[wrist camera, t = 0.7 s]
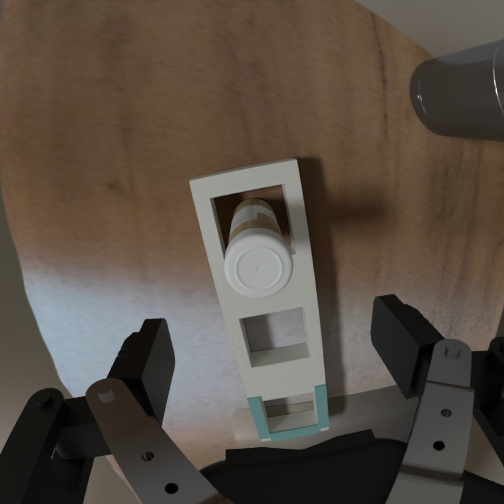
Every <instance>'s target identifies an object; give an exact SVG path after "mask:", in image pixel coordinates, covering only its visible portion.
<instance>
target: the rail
mask: <svg viewBox="0 0 504 504" xmlns="http://www.w3.org/2000/svg"><path fill="white" fill-rule="evenodd" d="M189 182H190V186H191V191H192V195H193V199H194V203H195V208H196V212H197V216H198V220H199V224H200V228H201V232H202V236H203V240H204V244H205V248H206V252H207V256H208V260H209V264H210V268H211V271H212V275H213V279H214V283H215V287H216V290H217V294H218V298H219V301H220V305H221V309H222V312H223V316H224V320H225V323H226V327H227V330H228V334H229V337H230V341H231V344H232V348H233V351H234V355H235V358H236V362H237V365H238V368H239V372H240V375H241V378H242V382H243V385H244V388H245V392H246V395H247V400H248V403H249V406H250V409H251V413H252V416H253V419H254V422H255V425H256V428H257V431H258V435H259V438H260V439H261V441H268V440H271V442H272V441H279V440H285V439H291V438H296V437H302V436H307V435H312V434H317V433H319V431H324V430H328V429H329V419H328V404H327V390H326V382H325V370H324V359H323V348H322V338H321V328H320V319H319V310H318V301H317V293H316V284H315V276H314V269H313V261H312V254H311V246H310V239H309V232H308V226H307V219H306V212H305V206H304V200H303V194H302V187H301V181H300V175H299V170H298V164H297V159H294V158H288V159H282V160H276V161H271V162H265V163H260V164H254V165H249V166H244V167H239V168H234V169H229V170H225V171H220V172H215V173H211V174H206V175H202V176H197V177H194V178H192V179H191V180H190V181H189ZM279 184H282V189H283V194H284V200H285V206H286V211H287V217H288V223H289V229H290V235H291V241H292V244H291V245H288V247H289V249H290V252H291V255H292V258H293V273H292V276H291V279H290V281H289V283H288V284H287V285H286V286H285V287H284V289H282V290H281V291H280V292H279V293H277V294H275V295H273V296H271V297H268V298H262V299H255V298H249V297H246V296H243V295H241V294H240V293H238V292H237V291H235V290H234V289H233V288H232V287H231V285H230V284H229V282H228V281H227V279H226V276H225V271H224V260H225V254H226V249H225V245H224V240H223V236H222V232H221V227H220V223H219V219H218V214H217V210H216V205H215V201H214V197H218V196H223V195H228V194H233V193H238V192H243V191H248V190H253V189H258V188H263V187H268V186H274V185H279ZM299 307H302V314H303V321H304V328H305V335H306V343H301V344H296V345H291V346H285V347H280V348H275V349H269V350H263V351H258V352H252V353H251V351H250V347H249V343H248V339H247V335H246V331H245V327H244V323H243V319H242V318H246V317H252V316H257V315H263V314H268V313H273V312H279V311H284V310H289V309H294V308H299ZM310 392H313V400H314V409H313V410H308V411H303V412H298V413H293V414H287V415H281V416H275V417H269V418H268V416H267V412H266V409H265V405H264V401H266V400H272V399H278V398H284V397H289V396H295V395H300V394H305V393H310Z"/></svg>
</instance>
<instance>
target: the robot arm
mask: <svg viewBox="0 0 504 504" xmlns="http://www.w3.org/2000/svg"><path fill="white" fill-rule="evenodd" d="M410 94H411V100H412V104H413V107H414V109H415V112H416V114H417V116H418V117H419V119H420V120H421V122H422V123H423V124H424V125H425V126H426V127H427V128H428V129H430V130H431V131H432V132H434V133H436V134H438V135H442V136H450V137H463V138H472V139H483V140H492V141H501V142H504V39H503V40H499V41H495V42H490V43H486V44H483V45H479V46H475V47H472V48H468V49H464V50H461V51H458V52H455V53H451V54H448V55H444V56H441V57H438V58H435V59H432V60H428V61H426V62H424V63H422V64H420V65H419V66H418V67H417V68H416V70H415V72H414V73H413V76H412V79H411V84H410ZM371 340H372V344H373V346H374V348H375V349H376V351H377V352H378V354H379V356H380V357H381V359H382V361H383V362H384V364H385V365H386V367H387V369H388V370H389V372H390V374H391V375H392V377H393V378H394V380H395V382H396V383H397V385H398V387H399V388H400V390H401V392H402V393H403V395H404V397H405V398H406V399H409V398H412V397H416V396H418V398H419V402H418V405H417V408H416V411H415V414H414V418H413V421H412V424H411V427H410V430H409V433H408V436H407V439H406V441H405V442H402V441H398V440H394V439H387V438H375V437H374V434H373V432H372V430H371V429H368V430H364V431H359V432H355V433H350V434H346V435H341V436H337V437H334V438H332V439H329V440H327V441H324V442H322V443H319V444H317V445H314V446H311V447H309V448H306V449H302V450H295V449H280V448H268V447H257V448H244V449H228V450H226V460H222V461H219V462H216V463H213V464H211V465H209V466H206V467H204V468H202V469H201V470H199V471H198V470H197V469H196V467H195V466H194V465H193V464H192V463H191V462H190V461H189V460H188V459H187V457H186V456H185V455H184V454H183V453H182V452H181V450H180V449H179V448H178V447H177V446H176V445H175V443H174V442H173V441H172V440H171V438H170V437H169V436H168V435H167V434H166V432H165V431H164V430H163V429H162V427H161V426H162V422H163V417H164V412H165V408H166V403H167V399H168V394H169V390H170V385H171V381H172V377H173V372H174V368H175V355H174V350H173V346H172V342H171V338H170V334H169V330H168V325H167V322H166V320H165V318H158V319H145V321H144V323H143V325H142V327H141V329H140V331H139V332H133V333H132V334H131V335H130V336H129V337H128V338H127V339H125V341H124V343H123V345H122V347H121V350H120V351H119V353H118V357H116V359H115V361H114V363H113V365H112V367H111V370H110V372H109V374H108V376H107V378H106V379H102V380H99V381H97V382H95V383H93V384H92V385H91V386H90V387H89V388H88V390H87V392H86V396H83V397H77V398H72V399H65V398H64V396H63V394H62V393H61V392H60V391H59V390H57V389H55V388H46V389H42V390H40V391H38V392H36V393H35V394H33V396H31V397H30V399H29V400H28V402H27V404H26V406H25V407H24V409H23V411H22V413H21V415H20V417H19V418H18V420H17V422H16V424H15V426H14V428H13V430H12V432H11V434H10V436H9V438H8V440H7V442H6V444H5V446H4V448H3V450H2V452H1V454H0V504H83V501H84V497H85V493H86V489H87V484H88V480H89V477H90V473H91V469H92V465H93V461H94V458H95V457H98V456H104V455H110V454H113V456H114V458H115V460H116V461H117V463H118V465H119V467H120V468H121V470H122V472H123V473H124V475H125V477H126V478H127V480H128V482H129V483H130V485H131V487H132V488H133V490H134V491H135V493H136V494H137V496H138V497H139V499H140V500H141V502H142V503H143V504H504V486H503V485H500V484H498V483H495V482H493V481H490V480H488V479H485V478H483V477H480V476H478V475H476V474H473V473H471V472H469V471H466V470H464V469H463V468H464V464H465V458H466V453H467V448H468V441H469V434H470V428H471V419H472V414H473V416H474V418H475V419H476V421H477V422H478V424H479V425H480V427H481V429H482V430H483V432H484V434H485V435H486V437H487V438H488V440H489V442H490V444H491V445H492V447H493V449H494V450H495V452H496V454H497V455H498V457H499V459H500V461H501V462H502V464H503V466H504V337H497V338H494V339H493V340H492V341H491V342H490V345H489V348H488V351H471V349H470V347H469V346H468V345H467V344H465V343H464V342H462V341H459V340H455V339H445V338H444V337H443V336H442V335H441V334H440V333H439V332H438V331H437V330H436V329H435V327H434V326H433V325H432V324H431V323H429V321H428V320H427V319H426V318H424V316H423V315H422V314H421V313H420V312H419V311H418V310H417V309H415V308H413V307H411V306H410V305H408V304H403V303H402V302H401V301H400V300H399V299H398V297H397V296H396V295H394V294H390V295H384V296H377V297H375V299H374V303H373V313H372V323H371ZM54 449H55V451H54ZM53 452H54V454H53ZM52 454H53V457H52ZM51 457H52V459H51Z"/></svg>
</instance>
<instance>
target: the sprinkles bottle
mask: <svg viewBox="0 0 504 504" xmlns="http://www.w3.org/2000/svg"><path fill="white" fill-rule="evenodd" d="M224 271H225V276H226V279H227V281H228V282H229V284H230V285H231V287H232V288H233V289H234V290H235V291H237V292H238V293H240V294H241V295H243V296H246V297H249V298H255V299H262V298H268V297H271V296H273V295H275V294H277V293H279V292H280V291H281V290H282V289H284V287H285V286H286V285H287V284H288V283H289V281H290V279H291V276H292V273H293V258H292V255H291V252H290V249H289V247H288V245H287V243H286V242H285V240H284V239H283V238H282V234H281V231H280V228H279V225H278V223H277V220H276V216H275V213H274V210H273V209H272V207H271V206H270V205H269V204H268V203H266V202H265V201H263V200H260V199H248V200H245V201H243V202H242V203H240V204H239V205H238V206H237V207H236V208H235V210H234V212H233V216H232V224H231V230H230V237H229V245H228V247H227V250H226V254H225V260H224Z"/></svg>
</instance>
